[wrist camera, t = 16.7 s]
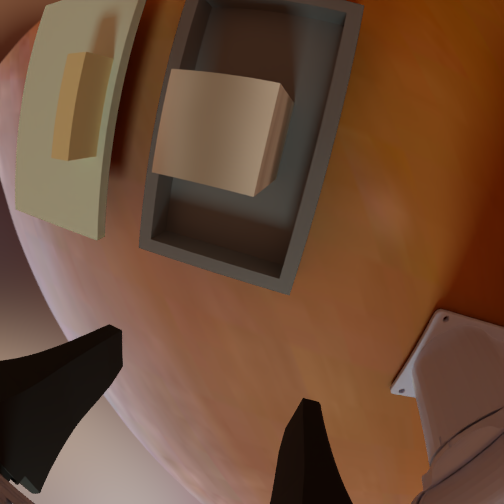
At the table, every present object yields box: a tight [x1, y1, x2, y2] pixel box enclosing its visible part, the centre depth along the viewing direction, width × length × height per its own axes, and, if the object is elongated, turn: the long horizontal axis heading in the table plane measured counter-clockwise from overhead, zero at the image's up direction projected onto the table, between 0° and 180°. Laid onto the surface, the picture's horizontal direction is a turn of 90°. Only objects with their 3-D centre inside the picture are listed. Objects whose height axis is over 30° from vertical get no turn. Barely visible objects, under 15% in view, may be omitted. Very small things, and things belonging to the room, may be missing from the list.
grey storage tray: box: [139, 0, 364, 295], centre depth 16 cm, size 10×17×2 cm, turn 168°
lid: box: [15, 0, 146, 240], centre depth 15 cm, size 10×17×3 cm, turn 168°
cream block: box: [152, 69, 294, 197], centre depth 14 cm, size 4×4×6 cm
